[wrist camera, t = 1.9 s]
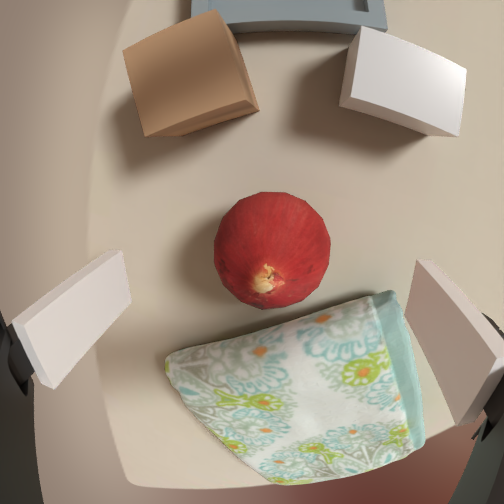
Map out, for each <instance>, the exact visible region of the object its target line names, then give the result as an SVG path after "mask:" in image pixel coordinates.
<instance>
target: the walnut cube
mask: <svg viewBox="0 0 504 504" xmlns="http://www.w3.org/2000/svg"><path fill="white" fill-rule="evenodd" d="M123 55H124V60H125V64H126V68H127V72H128V76H129V80H130V84H131V88H132V92H133V96H134V100H135V104H136V107H137V111H138V115H139V118H140V122H141V125H142V129H143V132H144V136H145V137H157V136H184V135H187V134H189V133H192V132H195V131H198V130H200V129H203V128H206V127H209V126H212V125H215V124H218V123H221V122H224V121H227V120H230V119H234V118H237V117H240V116H243V115H247V114H250V113H254V112H257V111H260V110H259V107H258V104H257V101H256V98H255V94H254V91H253V88H252V85H251V82H250V79H249V76H248V73H247V70H246V66H245V63H244V60H243V57H242V55H241V52H240V49H239V46H238V43H237V40H236V38H235V37H234V35H233V34H232V32H231V30H230V29H229V27H228V26H227V24H226V23H225V21H224V20H223V18H222V17H221V16H220V14H219V13H218V11H217V10H216V9H213V10H210V11H208V12H205V13H202V14H200V15H197V16H194V17H192V18H189V19H187V20H184V21H182V22H180V23H177V24H175V25H173V26H170V27H168V28H166V29H164V30H162V31H160V32H157V33H155V34H153V35H151V36H149V37H147V38H145V39H143V40H141V41H139V42H138V43H136V44H134V45H132V46H130V47H128V48H126V49H125V50H123Z"/></svg>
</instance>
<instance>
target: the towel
mask: <svg viewBox="0 0 504 504" xmlns="http://www.w3.org/2000/svg"><path fill="white" fill-rule="evenodd" d="M165 373H166V375H167V377H168V379H169V380H170V384H171V385H172V387H173V388H175V389H176V390H177V391H179V393H180V396H181V398H182V400H183V402H184V404H185V406H186V407H187V408H188V409H189V410H190V411H191V412H192V413H193V414H194V416H195V417H196V418H197V419H198V420H199V421H200V422H202V423H203V424H204V425H205V426H206V427H207V428H208V429H209V430H210V431H211V432H212V433H213V434H214V435H215V436H216V437H217V438H218V439H219V440H220V441H221V442H222V443H223V444H224V445H225V446H226V447H227V448H228V449H230V450H231V451H232V452H233V453H234V454H235V455H236V456H237V457H238V458H239V459H240V460H242V461H243V462H244V463H245V464H247V465H248V466H249V467H250V468H252V469H253V470H254V471H256V472H257V473H258V474H260V475H261V476H262V477H264V478H265V479H267V480H268V481H270V482H272V483H276V484H279V485H298V484H307V483H314V482H320V481H326V480H331V479H337V478H343V477H348V476H352V475H356V474H360V473H363V472H367V471H370V470H373V469H376V468H379V467H381V466H384V465H386V464H389V463H391V462H393V461H396V460H400V459H403V458H405V457H407V456H408V454H410V453H412V452H413V451H415V450H417V449H419V448H421V447H422V446H423V445H424V443H425V430H424V420H423V405H422V395H421V389H420V383H419V378H418V374H417V369H416V364H415V359H414V354H413V350H412V346H411V340H410V335H409V333H408V331H407V329H406V327H405V323H404V318H403V311H402V308H401V307H400V305H399V304H398V302H397V300H396V293H395V292H394V291H392V290H388V291H385V292H382V293H378V294H375V295H373V296H366V297H363V298H359V299H356V300H352V301H349V302H345V303H343V304H340V305H337V306H333V307H330V308H327V309H324V310H321V311H318V312H315V313H313V314H310V315H307V316H304V317H301V318H298V319H294V320H292V321H289V322H286V323H282V324H279V325H276V326H272V327H269V328H266V329H262V330H260V331H257V332H254V333H250V334H247V335H243V336H239V337H236V338H232V339H227V340H222V341H218V342H212V343H208V344H203V345H198V346H194V347H189V348H185V349H182V350H179V351H176V352H173V353H171V354H170V355H168V356H167V358H166V359H165Z"/></svg>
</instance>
